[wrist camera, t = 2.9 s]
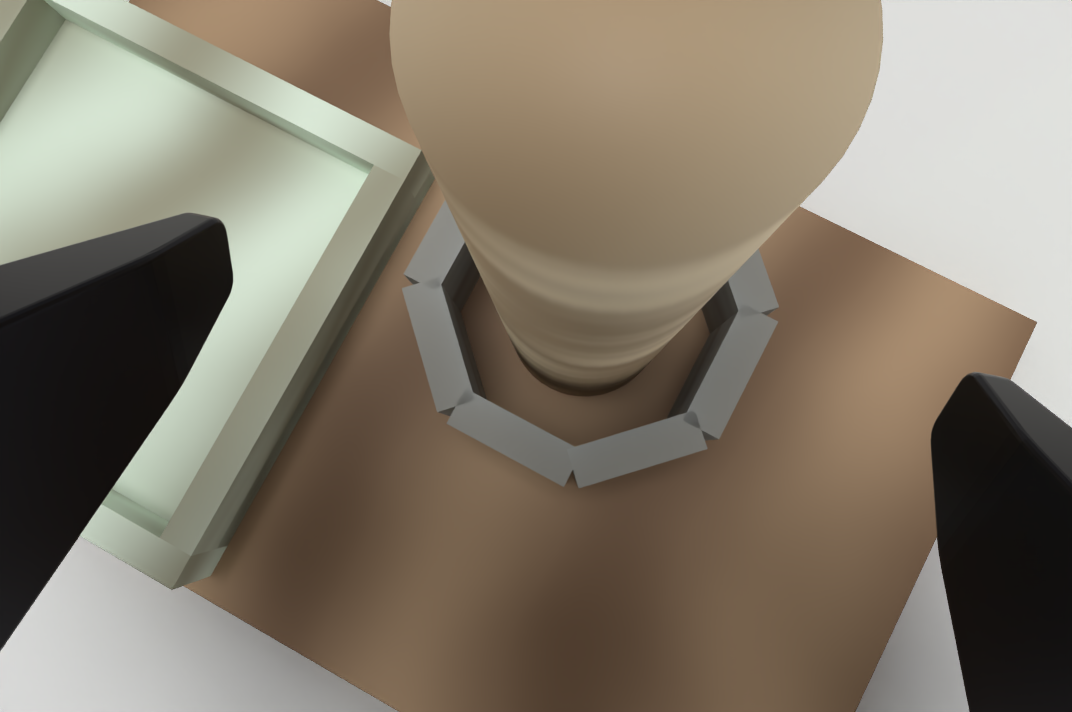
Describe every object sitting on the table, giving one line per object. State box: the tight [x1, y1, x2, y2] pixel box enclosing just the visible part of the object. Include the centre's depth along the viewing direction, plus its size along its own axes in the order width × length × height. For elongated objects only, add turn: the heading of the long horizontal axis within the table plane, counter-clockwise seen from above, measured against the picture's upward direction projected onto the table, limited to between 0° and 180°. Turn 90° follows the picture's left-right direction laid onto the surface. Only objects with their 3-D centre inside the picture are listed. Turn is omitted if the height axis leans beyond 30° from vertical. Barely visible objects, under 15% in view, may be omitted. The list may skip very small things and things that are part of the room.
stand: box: [0, 0, 1037, 712], centre depth 18 cm, size 26×15×4 cm, turn 62°
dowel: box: [389, 0, 883, 397], centre depth 12 cm, size 4×4×13 cm
